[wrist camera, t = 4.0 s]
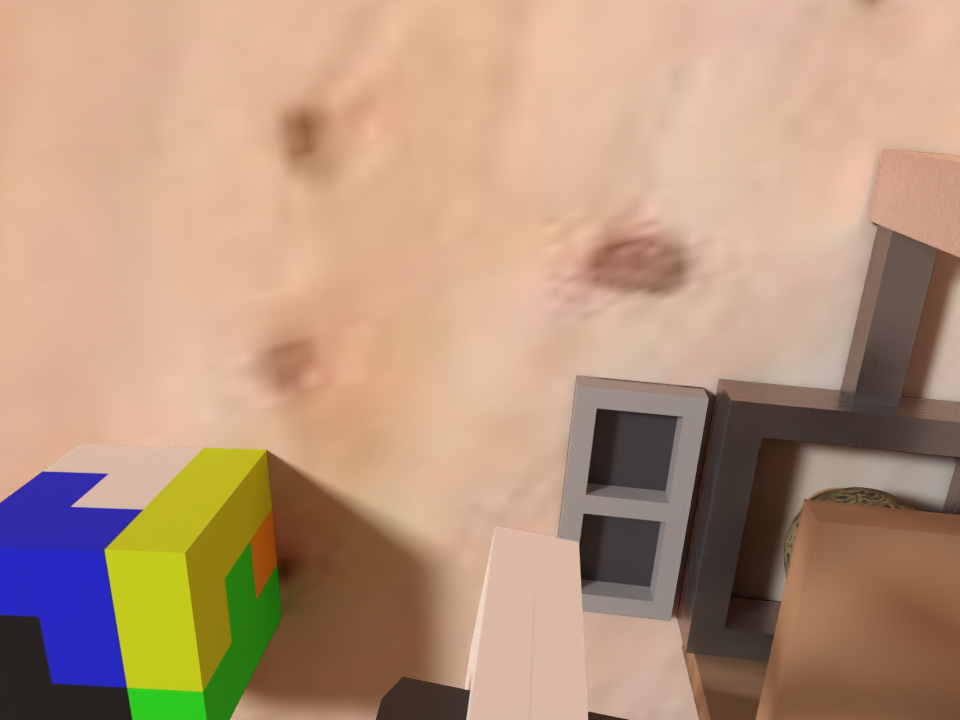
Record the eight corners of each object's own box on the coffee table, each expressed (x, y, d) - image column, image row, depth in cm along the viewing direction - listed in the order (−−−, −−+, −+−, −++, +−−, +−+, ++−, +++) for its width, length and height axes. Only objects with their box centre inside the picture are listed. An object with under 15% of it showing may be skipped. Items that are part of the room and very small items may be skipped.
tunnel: (913, 674, 43) (1067, 920, 30) (682, 647, 44) (736, 878, 31) (991, 405, 38) (1212, 562, 26) (730, 380, 39) (818, 521, 26)
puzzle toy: (79, 443, 43) (-54, 543, 34) (267, 449, 42) (184, 553, 33) (107, 608, 46) (-8, 741, 37) (282, 616, 45) (211, 755, 36)
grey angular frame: (937, 647, 42) (1049, 808, 33) (677, 617, 43) (713, 767, 33) (1080, 165, 35) (1280, 192, 25) (761, 139, 35) (838, 157, 26)
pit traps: (666, 603, 43) (670, 620, 42) (551, 590, 43) (551, 607, 42) (703, 387, 39) (708, 398, 38) (576, 375, 40) (577, 385, 38)
